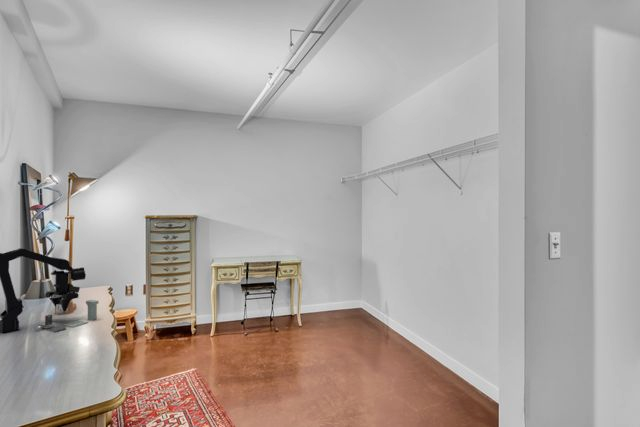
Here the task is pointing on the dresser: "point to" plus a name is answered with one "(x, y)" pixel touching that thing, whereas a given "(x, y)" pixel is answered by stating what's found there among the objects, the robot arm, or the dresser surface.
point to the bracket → (68, 308)
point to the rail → (55, 328)
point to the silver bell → (59, 309)
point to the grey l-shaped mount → (91, 314)
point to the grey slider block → (47, 323)
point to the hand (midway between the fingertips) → (61, 310)
